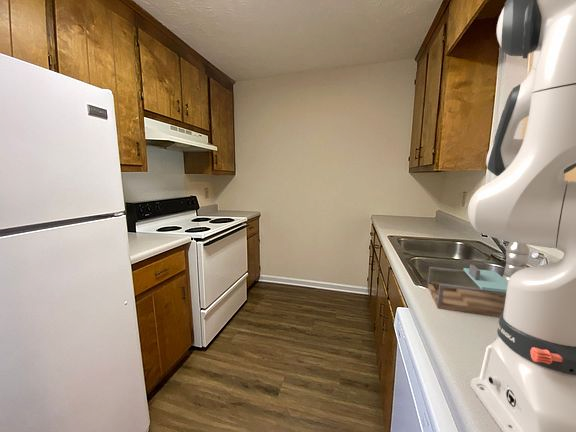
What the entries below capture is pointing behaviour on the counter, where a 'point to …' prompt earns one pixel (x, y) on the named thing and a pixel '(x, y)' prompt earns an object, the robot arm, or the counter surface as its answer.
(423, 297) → the counter surface
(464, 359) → the counter surface
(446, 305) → the brown wooden box
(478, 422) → the counter surface
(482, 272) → the cover
